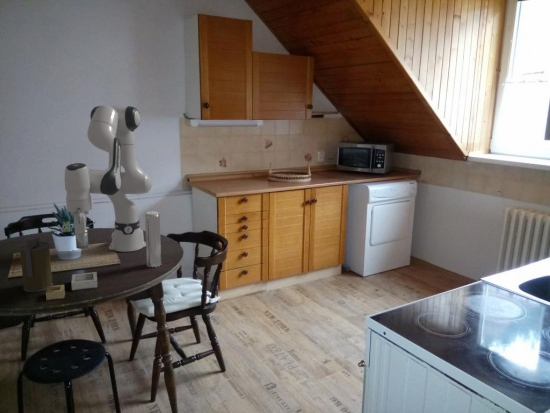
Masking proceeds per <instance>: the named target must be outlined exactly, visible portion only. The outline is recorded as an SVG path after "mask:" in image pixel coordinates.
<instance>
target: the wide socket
mask: <svg viewBox="0 0 550 413" xmlns="http://www.w3.org/2000/svg"><path fill="white" fill-rule="evenodd" d="M97 274H98V273H97V271H93V272H84V273H77V274H75V273H74V274H72V275H71V290H72V291H79V290H86V289H93V288H98V276H97Z"/></svg>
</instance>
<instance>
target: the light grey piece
mask: <svg viewBox="0 0 550 413" xmlns="http://www.w3.org/2000/svg"><path fill="white" fill-rule="evenodd" d="M160 216H161V215H160V213H159V212H158V211H155V210H153V211H152V210H151V211H146V212H145V214H144V226H145V242H146V247H145V249H146V250H145V252H146V267H148V268H151V267H152V268H153V267H155V268H159V267H161V266H162V251H161V250H162V246H161V244H162V243H161V220H160V219H161V217H160ZM160 265H161V266H160ZM158 266H159V267H158Z"/></svg>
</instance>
